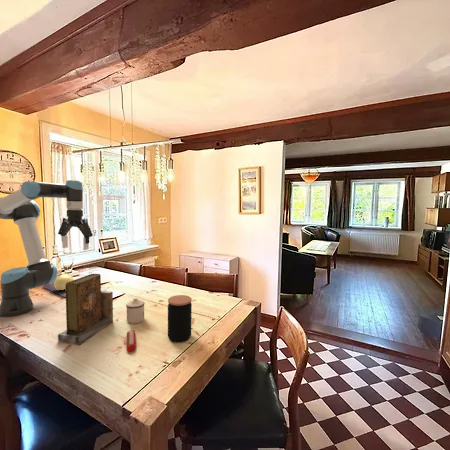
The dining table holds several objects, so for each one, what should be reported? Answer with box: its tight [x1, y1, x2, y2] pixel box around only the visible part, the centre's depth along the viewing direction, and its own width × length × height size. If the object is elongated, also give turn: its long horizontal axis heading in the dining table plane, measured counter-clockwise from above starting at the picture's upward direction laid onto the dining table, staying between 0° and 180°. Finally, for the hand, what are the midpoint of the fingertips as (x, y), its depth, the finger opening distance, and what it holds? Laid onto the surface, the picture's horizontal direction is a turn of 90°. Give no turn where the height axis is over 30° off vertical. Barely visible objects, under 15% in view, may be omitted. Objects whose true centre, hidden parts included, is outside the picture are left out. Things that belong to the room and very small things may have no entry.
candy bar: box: [125, 329, 137, 353], centre depth 111 cm, size 16×4×3 cm, turn 20°
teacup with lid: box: [125, 297, 146, 325], centre depth 133 cm, size 12×9×12 cm
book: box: [65, 273, 102, 336], centre depth 119 cm, size 16×6×25 cm, turn 167°
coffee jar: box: [167, 294, 193, 344], centre depth 116 cm, size 11×11×18 cm
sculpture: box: [53, 273, 75, 291], centre depth 176 cm, size 11×12×11 cm
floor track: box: [57, 290, 114, 346], centre depth 120 cm, size 11×22×16 cm, turn 167°
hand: (75, 248), depth 138 cm, fingers open, 13 cm apart
